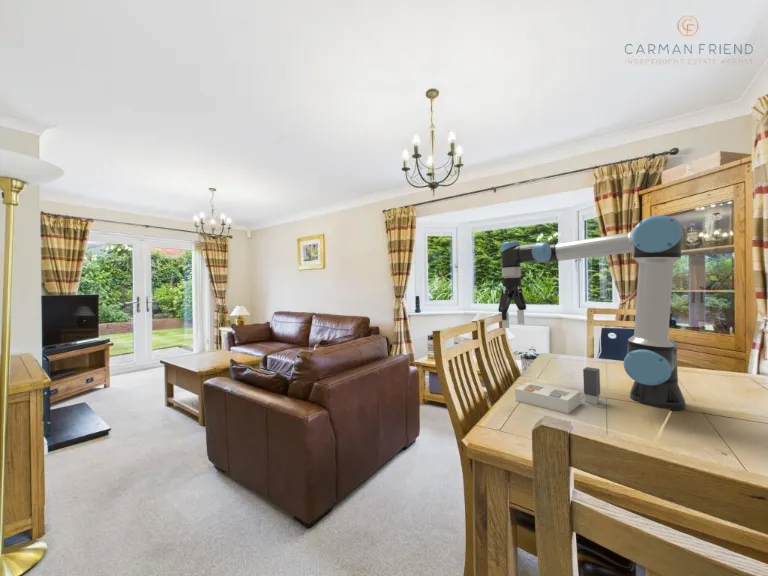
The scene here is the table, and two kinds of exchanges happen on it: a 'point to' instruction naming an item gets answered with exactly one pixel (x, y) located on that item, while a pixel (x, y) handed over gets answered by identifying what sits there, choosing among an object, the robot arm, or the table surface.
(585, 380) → the grey tall block
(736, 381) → the table surface
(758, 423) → the table surface
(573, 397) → the socket block
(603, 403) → the mat
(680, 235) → the robot arm
